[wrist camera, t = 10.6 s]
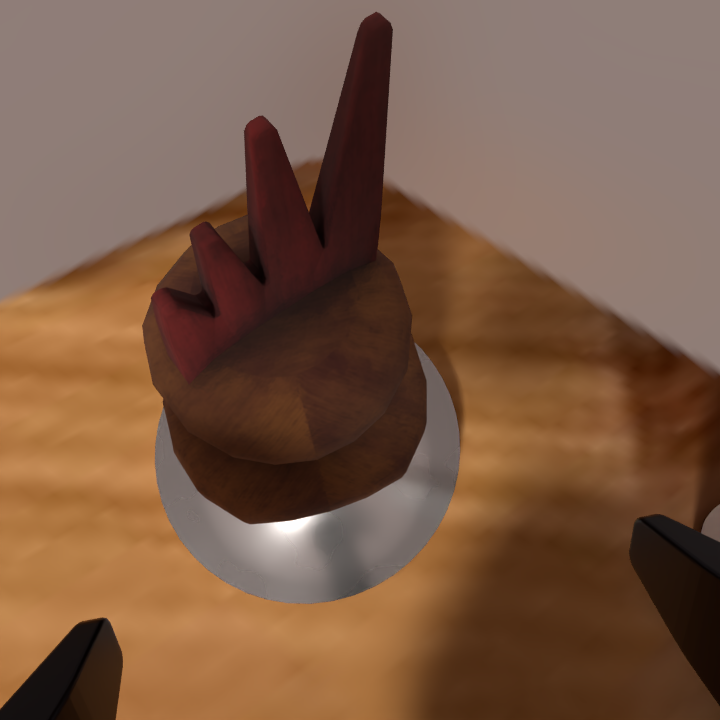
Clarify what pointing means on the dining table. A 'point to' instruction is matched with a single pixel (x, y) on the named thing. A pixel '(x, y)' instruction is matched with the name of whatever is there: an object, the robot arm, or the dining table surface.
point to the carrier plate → (322, 521)
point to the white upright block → (712, 524)
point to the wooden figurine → (295, 326)
